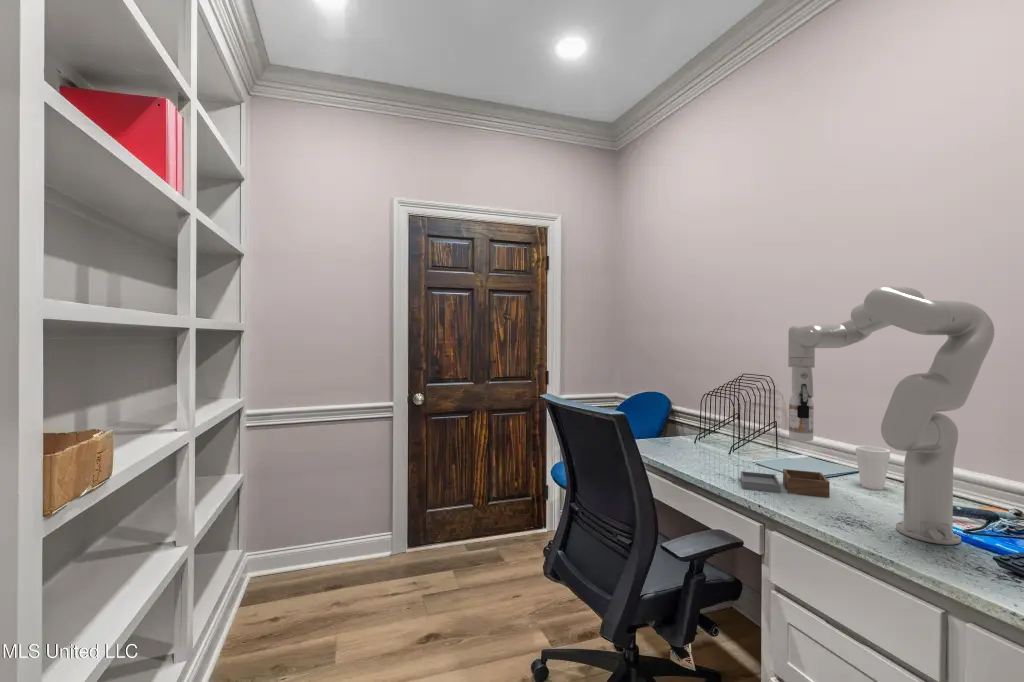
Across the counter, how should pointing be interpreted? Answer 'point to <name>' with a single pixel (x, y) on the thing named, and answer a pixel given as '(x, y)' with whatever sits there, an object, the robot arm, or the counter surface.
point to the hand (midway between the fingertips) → (801, 415)
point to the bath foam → (800, 421)
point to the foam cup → (872, 466)
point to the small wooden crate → (806, 483)
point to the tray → (760, 482)
